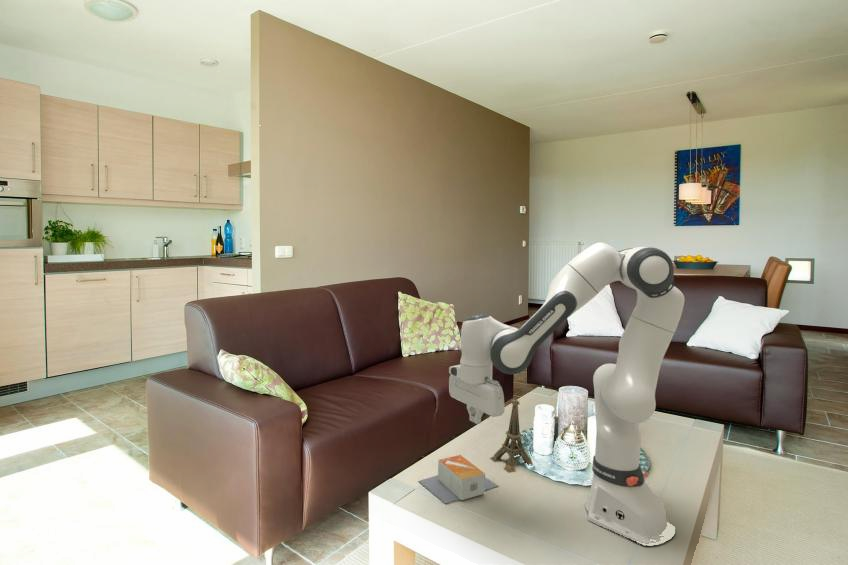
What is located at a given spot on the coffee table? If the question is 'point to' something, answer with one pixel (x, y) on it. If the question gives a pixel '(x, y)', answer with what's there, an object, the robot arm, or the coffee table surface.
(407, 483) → the coffee table surface
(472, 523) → the coffee table surface
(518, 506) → the coffee table surface
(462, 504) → the coffee table surface
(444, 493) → the slate mat
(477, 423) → the robot arm
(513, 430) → the eiffel tower
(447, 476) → the small box
